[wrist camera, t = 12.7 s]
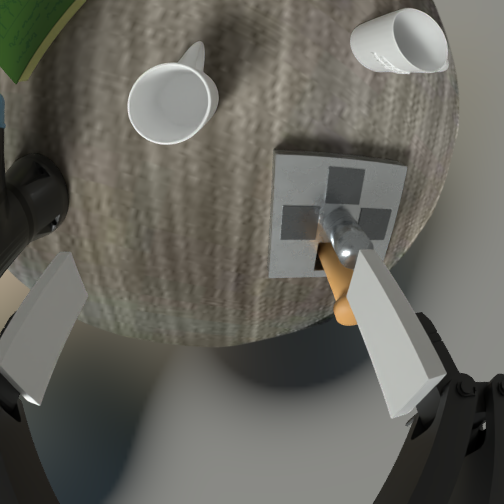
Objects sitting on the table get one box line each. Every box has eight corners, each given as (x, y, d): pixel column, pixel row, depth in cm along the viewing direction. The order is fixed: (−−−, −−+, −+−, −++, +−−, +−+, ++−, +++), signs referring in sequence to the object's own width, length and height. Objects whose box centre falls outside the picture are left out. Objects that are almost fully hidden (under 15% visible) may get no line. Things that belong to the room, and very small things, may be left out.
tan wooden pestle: (309, 260, 47) (331, 327, 34) (313, 232, 44) (341, 295, 31) (339, 259, 47) (368, 323, 35) (345, 232, 44) (381, 293, 31)
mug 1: (238, 57, 29) (238, 45, 20) (206, 136, 35) (194, 154, 26) (177, 41, 27) (154, 25, 18) (149, 120, 33) (118, 133, 24)
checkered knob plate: (267, 266, 47) (273, 313, 38) (273, 149, 36) (285, 172, 27) (372, 264, 48) (396, 305, 39) (398, 160, 37) (438, 186, 28)
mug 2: (414, 90, 30) (465, 100, 20) (345, 63, 29) (386, 57, 19) (421, 46, 26) (472, 44, 16) (353, 15, 25) (394, -5, 15)
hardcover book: (100, -10, 20) (89, -16, 17) (29, 81, 26) (15, 84, 23) (39, -48, 9) (29, -52, 5) (-18, 29, 15) (-29, 30, 12)
